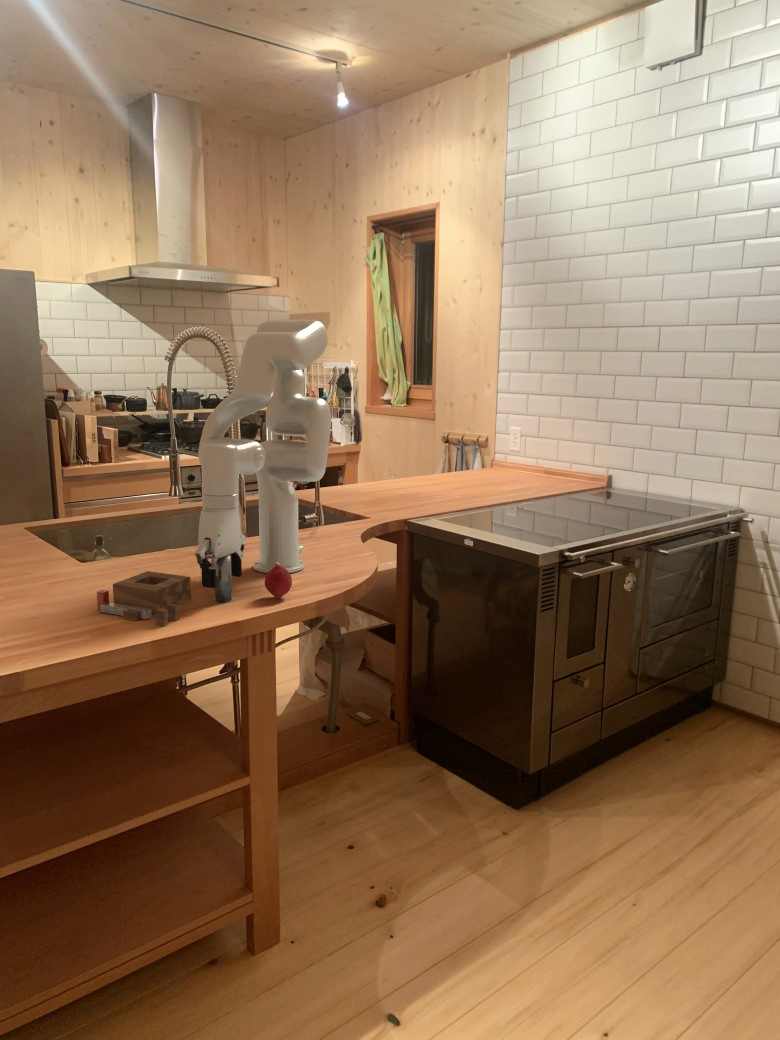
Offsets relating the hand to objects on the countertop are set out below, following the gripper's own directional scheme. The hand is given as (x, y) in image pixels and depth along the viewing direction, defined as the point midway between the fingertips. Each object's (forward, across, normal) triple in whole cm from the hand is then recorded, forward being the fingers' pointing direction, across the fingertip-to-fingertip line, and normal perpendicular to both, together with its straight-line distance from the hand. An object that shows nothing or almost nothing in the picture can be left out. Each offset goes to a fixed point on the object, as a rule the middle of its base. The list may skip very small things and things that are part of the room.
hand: (222, 581), depth 164 cm
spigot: (+4, 0, 0) cm, 4 cm away
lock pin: (+4, +16, -12) cm, 21 cm away
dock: (+4, +10, -9) cm, 14 cm away
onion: (+4, -6, +10) cm, 13 cm away
